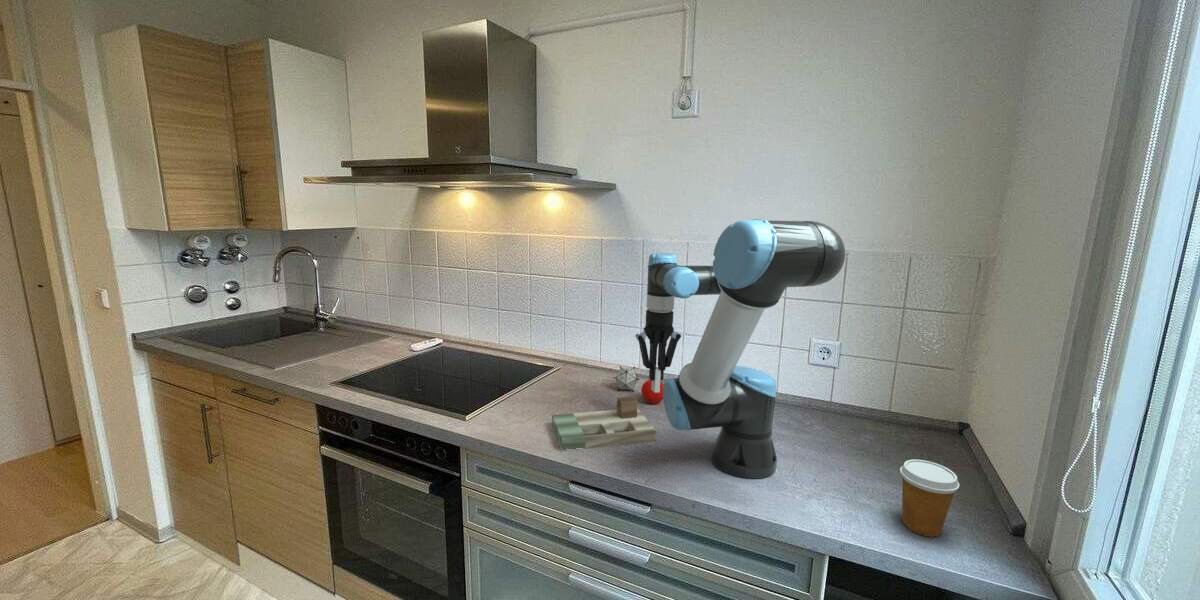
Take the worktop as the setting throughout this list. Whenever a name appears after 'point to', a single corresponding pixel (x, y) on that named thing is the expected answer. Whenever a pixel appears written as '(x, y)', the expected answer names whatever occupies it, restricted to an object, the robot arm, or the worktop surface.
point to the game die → (626, 378)
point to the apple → (652, 393)
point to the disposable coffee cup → (926, 496)
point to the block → (626, 407)
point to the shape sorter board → (601, 429)
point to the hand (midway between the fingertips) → (655, 390)
